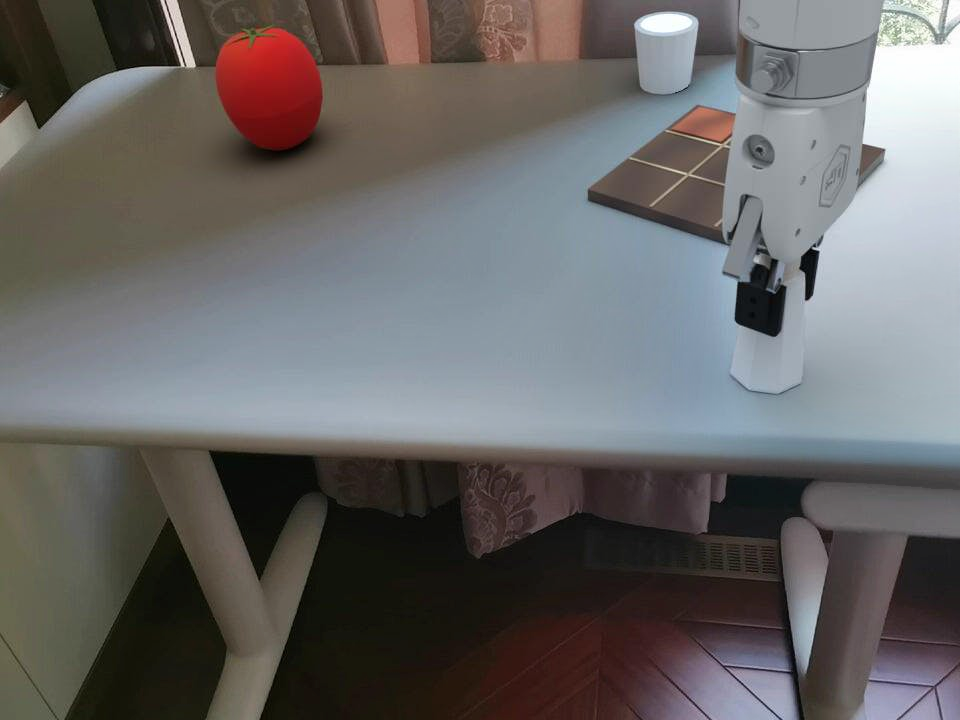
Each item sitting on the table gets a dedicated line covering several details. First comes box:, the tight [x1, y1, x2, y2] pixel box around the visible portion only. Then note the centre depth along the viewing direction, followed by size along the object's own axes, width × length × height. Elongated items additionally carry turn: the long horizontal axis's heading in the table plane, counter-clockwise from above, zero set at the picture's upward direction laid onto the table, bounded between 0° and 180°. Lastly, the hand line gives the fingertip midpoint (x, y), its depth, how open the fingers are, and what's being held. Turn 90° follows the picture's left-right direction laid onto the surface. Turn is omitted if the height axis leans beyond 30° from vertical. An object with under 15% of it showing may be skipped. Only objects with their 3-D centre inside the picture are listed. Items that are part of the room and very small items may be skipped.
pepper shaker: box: [729, 253, 806, 395], centre depth 66 cm, size 5×5×11 cm
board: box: [587, 104, 886, 256], centre depth 90 cm, size 20×20×1 cm
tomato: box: [214, 24, 324, 151], centre depth 102 cm, size 11×11×13 cm
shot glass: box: [633, 11, 699, 95], centre depth 106 cm, size 7×7×7 cm
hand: (773, 308), depth 66 cm, fingers closed on pepper shaker, 4 cm apart
